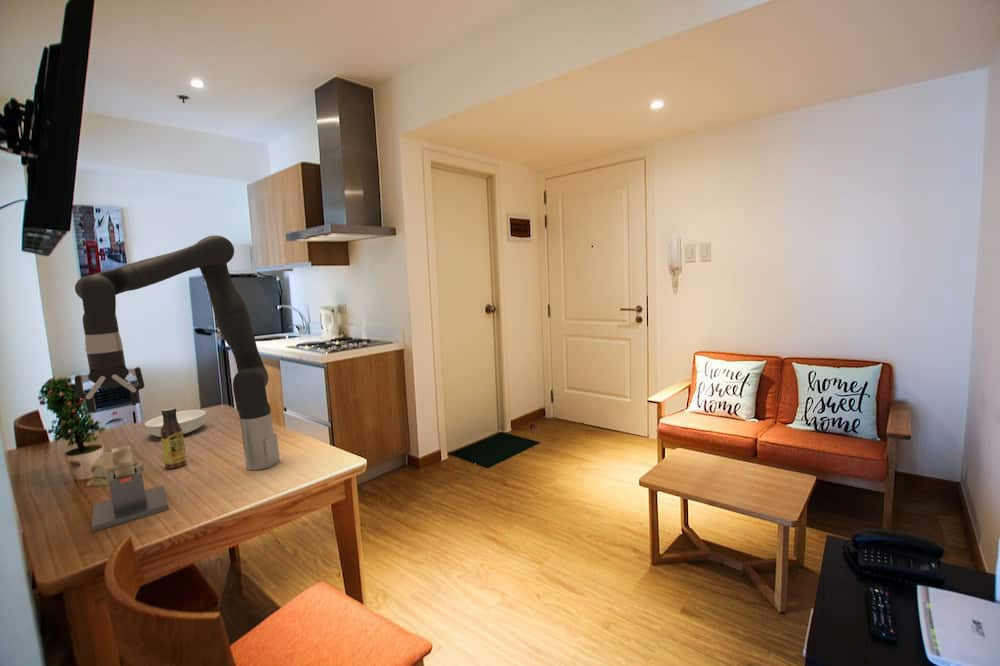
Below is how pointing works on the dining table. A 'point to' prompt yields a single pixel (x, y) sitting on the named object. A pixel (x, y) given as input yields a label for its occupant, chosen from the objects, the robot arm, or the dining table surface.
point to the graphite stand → (128, 501)
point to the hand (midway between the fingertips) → (114, 408)
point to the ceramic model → (105, 469)
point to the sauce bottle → (172, 440)
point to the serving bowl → (185, 419)
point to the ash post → (123, 461)
